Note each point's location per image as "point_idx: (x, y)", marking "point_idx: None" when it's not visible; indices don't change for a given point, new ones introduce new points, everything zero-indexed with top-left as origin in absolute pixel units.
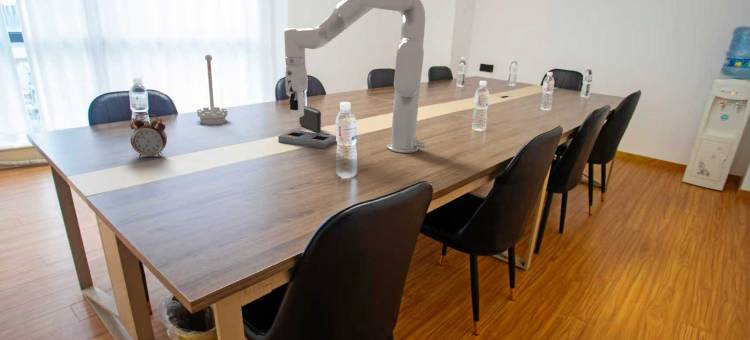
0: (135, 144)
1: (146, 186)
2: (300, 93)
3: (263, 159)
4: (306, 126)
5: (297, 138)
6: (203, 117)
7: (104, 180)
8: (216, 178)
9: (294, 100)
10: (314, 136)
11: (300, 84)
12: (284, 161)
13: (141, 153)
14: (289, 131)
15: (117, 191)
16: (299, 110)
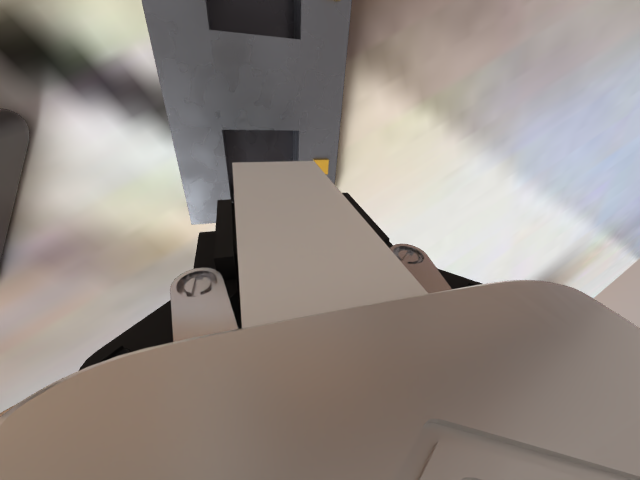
0: None
1: (630, 228)
2: (352, 291)
3: (512, 135)
4: (3, 236)
5: (329, 119)
6: None
7: (589, 286)
8: (629, 154)
9: (397, 255)
10: (242, 39)
11: (621, 462)
12: (536, 49)
13: None
14: None
15: (636, 243)
16: (322, 180)
